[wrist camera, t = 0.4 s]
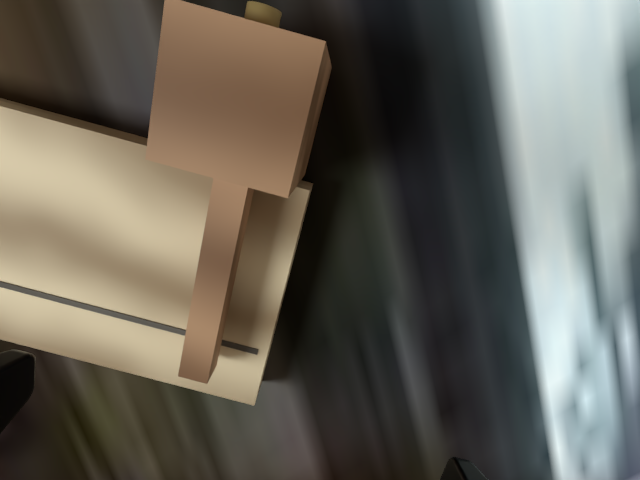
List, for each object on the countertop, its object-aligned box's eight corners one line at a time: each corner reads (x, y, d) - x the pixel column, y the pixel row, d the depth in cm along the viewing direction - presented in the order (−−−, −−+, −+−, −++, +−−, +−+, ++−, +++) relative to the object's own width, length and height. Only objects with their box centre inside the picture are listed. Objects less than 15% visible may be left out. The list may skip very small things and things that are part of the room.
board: (261, 381, 23) (253, 406, 21) (-215, 256, 22) (-269, 269, 20) (313, 183, 19) (309, 190, 17) (-254, 28, 19) (-325, 17, 17)
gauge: (261, 346, 22) (232, 425, 16) (175, 323, 22) (116, 395, 16) (336, 48, 17) (333, 12, 12) (227, 17, 17) (169, -34, 11)
